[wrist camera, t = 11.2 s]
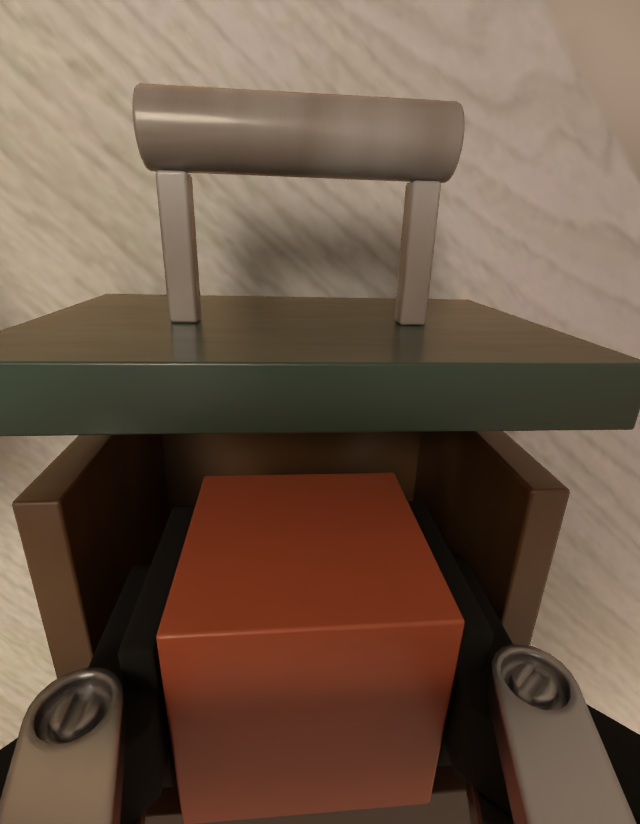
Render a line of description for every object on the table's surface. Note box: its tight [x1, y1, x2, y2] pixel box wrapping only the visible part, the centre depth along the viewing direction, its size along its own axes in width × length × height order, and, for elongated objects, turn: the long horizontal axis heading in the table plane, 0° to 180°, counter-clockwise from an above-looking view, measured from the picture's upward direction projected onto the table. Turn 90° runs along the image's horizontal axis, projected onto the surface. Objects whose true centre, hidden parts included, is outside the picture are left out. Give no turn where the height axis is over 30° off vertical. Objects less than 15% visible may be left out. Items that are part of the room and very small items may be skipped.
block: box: [156, 473, 464, 824], centre depth 9 cm, size 4×4×4 cm
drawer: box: [0, 83, 640, 679], centre depth 12 cm, size 18×11×8 cm, turn 179°
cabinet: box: [145, 765, 471, 824], centre depth 17 cm, size 15×13×10 cm
